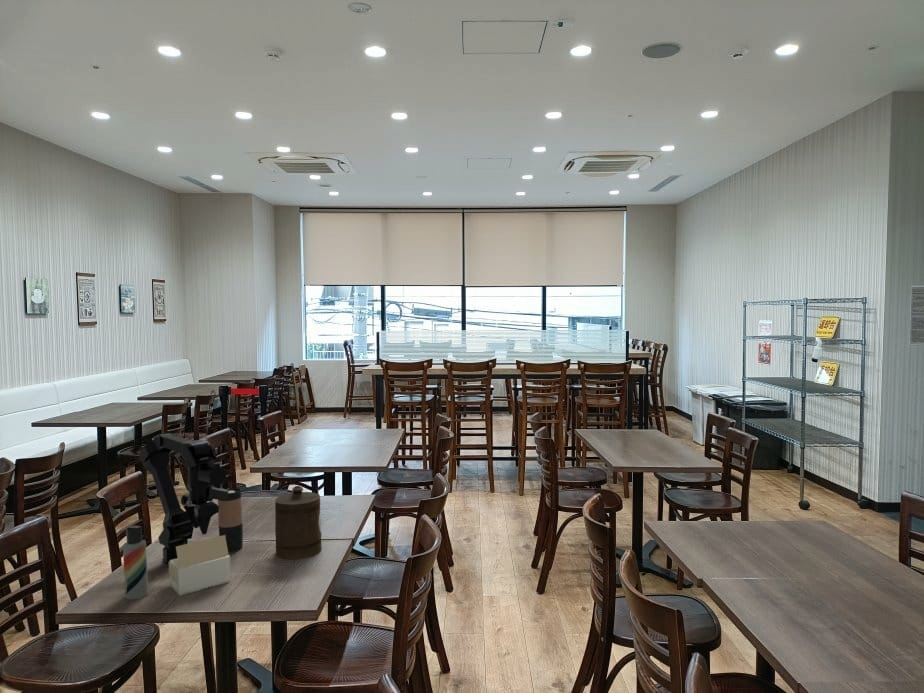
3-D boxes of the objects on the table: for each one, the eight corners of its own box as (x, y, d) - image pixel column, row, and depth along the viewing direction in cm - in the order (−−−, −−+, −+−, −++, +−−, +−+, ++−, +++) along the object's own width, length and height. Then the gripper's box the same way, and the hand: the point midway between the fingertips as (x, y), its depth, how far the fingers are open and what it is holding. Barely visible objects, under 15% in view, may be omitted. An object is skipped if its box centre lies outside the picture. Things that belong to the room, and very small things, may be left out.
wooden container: (331, 548, 205) (329, 483, 204) (296, 563, 193) (294, 494, 192) (300, 540, 213) (299, 478, 212) (266, 554, 201) (264, 488, 200)
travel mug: (235, 553, 202) (233, 494, 201) (214, 552, 203) (212, 493, 203) (247, 545, 209) (245, 488, 209) (228, 544, 211) (225, 487, 210)
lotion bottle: (121, 597, 170) (118, 527, 170) (141, 589, 175) (138, 521, 174) (131, 602, 167) (128, 530, 167) (151, 594, 172) (149, 524, 171)
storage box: (168, 585, 177) (167, 560, 177) (220, 571, 187) (219, 547, 187) (177, 596, 170) (176, 570, 170) (231, 581, 180) (230, 556, 179)
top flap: (175, 546, 172) (176, 546, 172) (224, 535, 181) (225, 534, 180) (179, 568, 170) (179, 567, 170) (228, 555, 179) (228, 555, 179)
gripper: (235, 482, 186) (237, 532, 187) (215, 471, 201) (217, 518, 201) (197, 489, 179) (199, 541, 180) (179, 477, 194) (181, 526, 194)
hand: (200, 531), depth 189 cm, fingers open, 8 cm apart
